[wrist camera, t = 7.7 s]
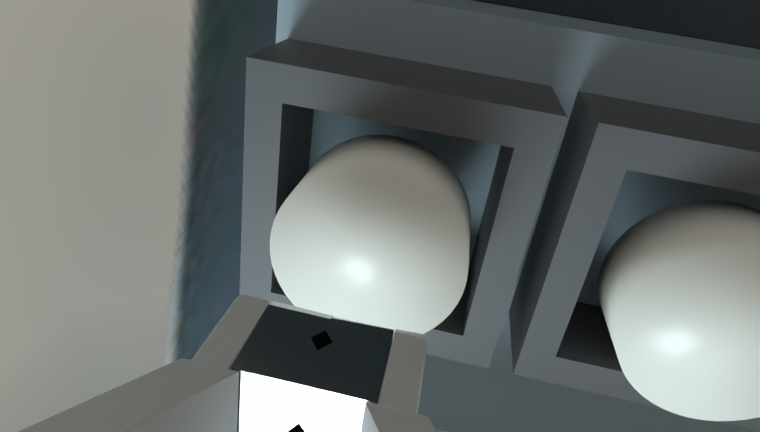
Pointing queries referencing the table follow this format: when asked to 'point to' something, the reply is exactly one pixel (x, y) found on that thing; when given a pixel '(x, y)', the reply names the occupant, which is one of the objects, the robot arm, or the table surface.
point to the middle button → (689, 308)
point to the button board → (510, 178)
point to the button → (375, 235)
